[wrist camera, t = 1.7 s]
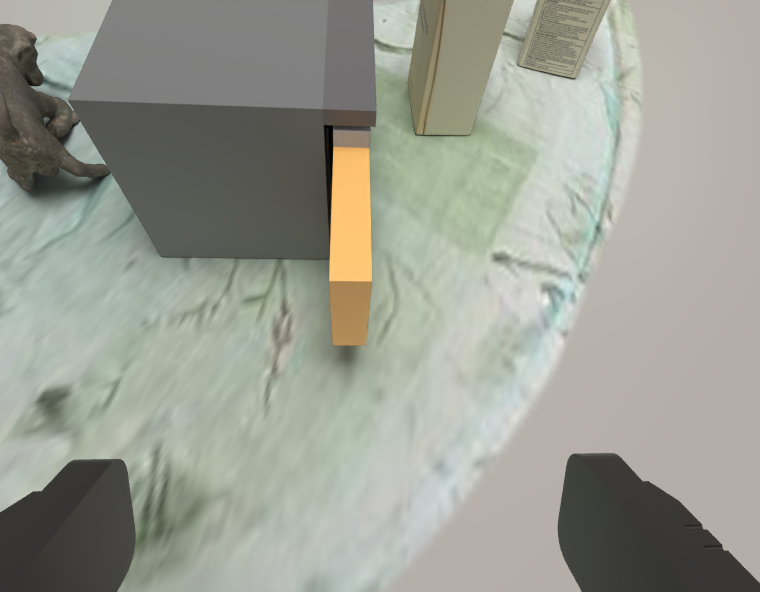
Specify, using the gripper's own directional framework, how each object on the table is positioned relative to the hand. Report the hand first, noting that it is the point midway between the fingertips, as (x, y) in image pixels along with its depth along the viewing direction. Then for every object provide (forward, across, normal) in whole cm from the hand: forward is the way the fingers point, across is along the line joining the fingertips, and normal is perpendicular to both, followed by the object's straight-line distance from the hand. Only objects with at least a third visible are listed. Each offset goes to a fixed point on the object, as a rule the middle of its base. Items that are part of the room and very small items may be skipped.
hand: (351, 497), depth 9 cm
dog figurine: (+28, +20, -6) cm, 35 cm away
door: (+21, 0, -2) cm, 22 cm away
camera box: (+27, +5, -6) cm, 28 cm away
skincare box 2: (+36, -17, -15) cm, 43 cm away
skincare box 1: (+31, -7, -10) cm, 34 cm away
